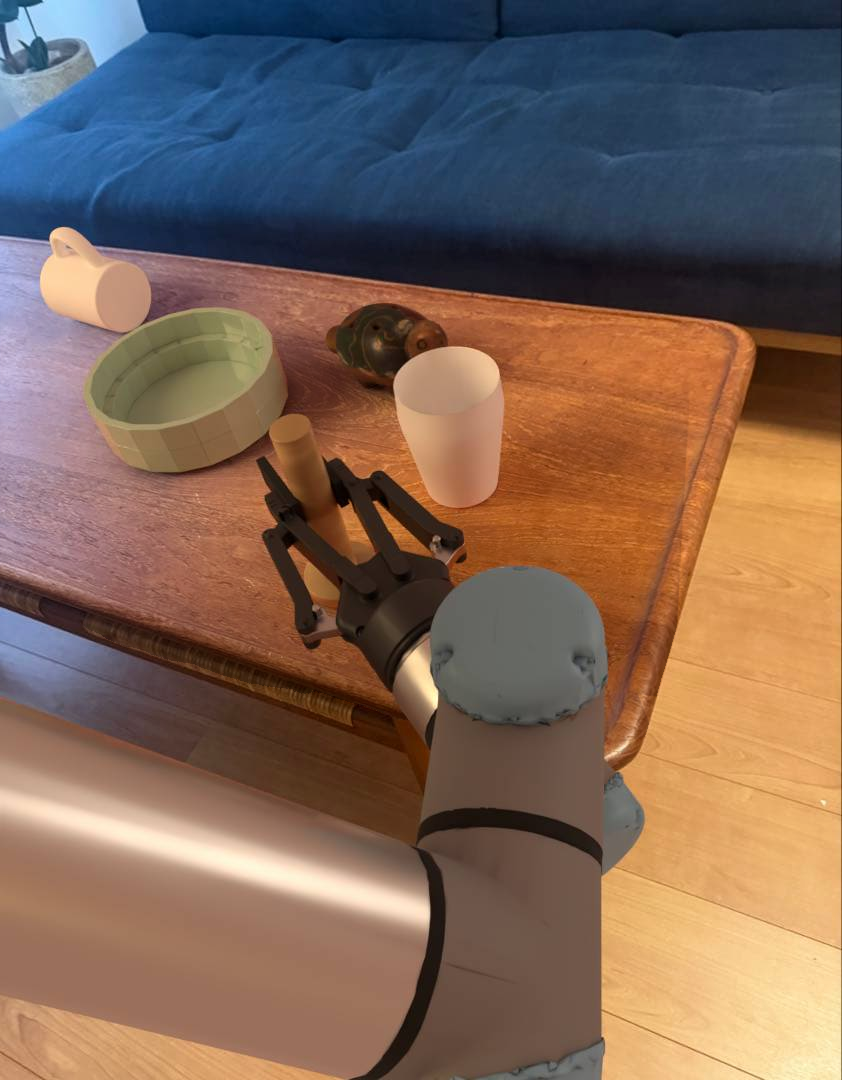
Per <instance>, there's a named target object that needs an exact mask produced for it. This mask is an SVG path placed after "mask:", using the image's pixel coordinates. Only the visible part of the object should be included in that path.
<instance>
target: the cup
mask: <svg viewBox="0 0 842 1080" xmlns="http://www.w3.org/2000/svg"><path fill="white" fill-rule="evenodd" d="M502 386H503V385H502V381H501V375H500V369H499V367H498V364H497V363H496V361H495V360H494V359H493V358H492V357H491V356H489V354H486V353H485V352H483V351H481V350H478V349H476V348H472V347H467V346H448V347H442V348H437V349H433V350H430V351H427V352H424V353H422V354H420V355H418V356H416V357H414V358H412V359H411V360H409V361H408V362H407V363H406V364H405V365H403V367H402V368H401V369H400V370H399V371H398V373H397V375H396V377H395V379H394V384H393V388H394V395H395V396H394V395H393V396H394V400H395V406H396V408H395V409H396V416H397V417H396V418H397V421H398V424H399V427H400V430H401V432H402V435H403V437H404V439H405V441H406V444H407V446H408V449H409V451H410V453H411V456H412V458H413V460H414V463H415V466H416V468H417V470H418V472H419V475H420V478H421V479H422V482H423V485H424V487H425V489H426V492H427V494H428V496H429V497H430V498H431V499H432V500H433V501H434V502H435V503H437V504H439V505H441V506H444V507H446V508H452V509H465V508H470V507H474V506H476V505H479V504H481V503H483V502H484V501H486V500H487V499H489V498H490V497H491V496H492V495H493V494H494V492H495V491H496V489H497V486H498V484H499V483H498V482H499V475H500V473H499V472H500V463H501V451H502V449H501V448H502V440H503V437H502V436H503V427H504V416H505V397H504V392H503V387H502Z"/></svg>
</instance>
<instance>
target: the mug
mask: <svg viewBox="0 0 842 1080" xmlns="http://www.w3.org/2000/svg"><path fill="white" fill-rule="evenodd" d="M49 243H50V247H51V250H52V252H53V253H52V254H51V255H50V256H49V257H48V258H47V259H46V260H45V262H44V264H43V266H42V268H41V272H40V276H39V286H40V288H39V289H40V293H41V296H42V298H43V301H44V302H45V304H46V305H47V306H48V308H49V309H51V311H53V312H54V313H55V314H57V315H59V316H62V317H65V318H68V319H72V320H75V321H78V322H82V323H86V324H89V325H91V326H95V327H99V328H102V329H104V330H105V329H106V330H107V331H108V330H109V331H112V332H115V333H121V334H122V333H123V334H124V333H125V334H126V333H129V332H131V331H133V330H134V329H136V328H138V327H139V326H141V325H142V324H143V322H144V321H145V320H146V318H147V316H148V314H149V312H150V308H151V305H152V290H151V285H150V282H149V279H148V278H147V276H146V274H145V273H144V271H142V269H141V268H140V267H139V266H137V265H136V264H134V263H132V262H128V261H125V260H120V259H116V258H113V257H107V256H104V255H101V254H100V253H99V251H98V250H97V249H96V247H95V246H93V244H91V242H90V241H89V240H88V239H87V238H86V237H85V236H83V235H82V234H81V233H80V232H78V231H77V230H76V229H74V228H72V227H68V226H61V227H57V228H55V229H54V230H52V231H51V232H50V235H49ZM67 246H68V247H70V248H67Z"/></svg>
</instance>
